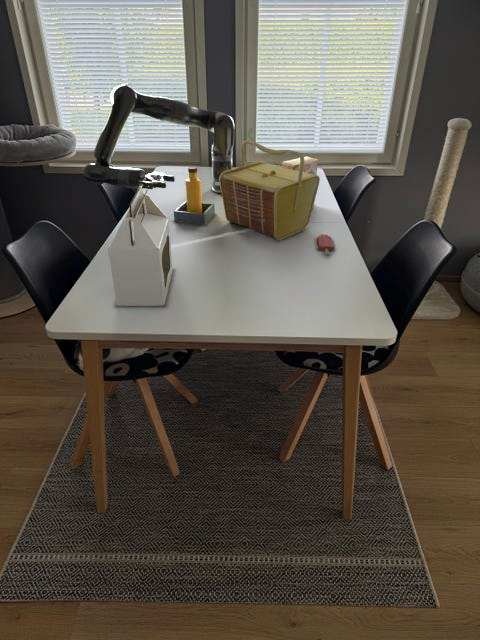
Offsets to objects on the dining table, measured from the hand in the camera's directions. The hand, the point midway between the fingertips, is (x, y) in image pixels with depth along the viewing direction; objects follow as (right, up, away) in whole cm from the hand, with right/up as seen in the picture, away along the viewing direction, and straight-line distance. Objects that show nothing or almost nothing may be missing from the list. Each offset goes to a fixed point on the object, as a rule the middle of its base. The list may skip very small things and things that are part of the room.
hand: (170, 182), depth 176 cm
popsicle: (+58, -28, -15) cm, 66 cm away
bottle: (+9, -12, +5) cm, 16 cm away
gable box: (-1, -44, -41) cm, 60 cm away
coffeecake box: (+52, -5, +18) cm, 55 cm away
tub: (+9, -13, +6) cm, 17 cm away
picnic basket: (+38, -17, 0) cm, 42 cm away
